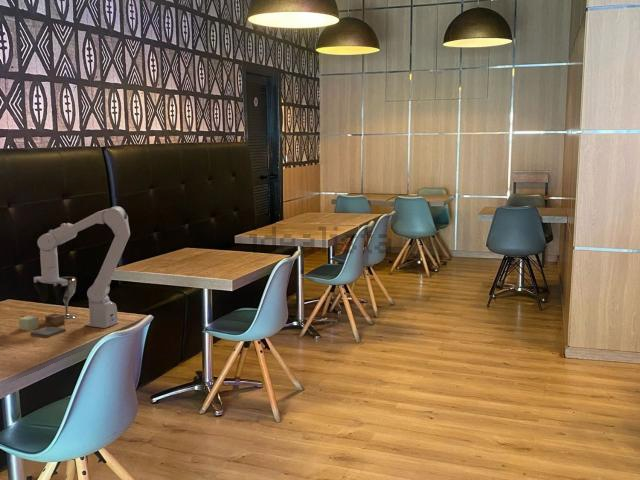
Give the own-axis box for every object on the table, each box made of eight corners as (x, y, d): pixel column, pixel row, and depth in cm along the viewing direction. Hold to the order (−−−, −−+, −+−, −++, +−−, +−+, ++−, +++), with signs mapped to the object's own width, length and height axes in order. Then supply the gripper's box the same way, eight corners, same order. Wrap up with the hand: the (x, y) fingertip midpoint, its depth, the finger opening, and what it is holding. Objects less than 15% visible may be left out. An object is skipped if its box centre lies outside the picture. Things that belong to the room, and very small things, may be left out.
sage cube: (39, 327, 229) (38, 316, 228) (29, 330, 225) (28, 320, 224) (29, 326, 230) (29, 315, 230) (19, 329, 226) (19, 318, 226)
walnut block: (64, 325, 232) (64, 314, 231) (55, 328, 228) (54, 317, 227) (55, 323, 234) (54, 313, 233) (45, 327, 230) (45, 316, 229)
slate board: (65, 331, 224) (65, 328, 223) (47, 337, 216) (47, 334, 216) (48, 328, 227) (48, 326, 226) (30, 334, 219) (30, 332, 219)
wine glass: (51, 319, 240) (48, 280, 237) (64, 313, 247) (61, 276, 245) (70, 320, 238) (67, 281, 236) (82, 314, 246) (80, 277, 243)
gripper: (25, 266, 227) (28, 303, 229) (55, 270, 221) (58, 307, 223) (41, 263, 233) (44, 299, 235) (71, 266, 227) (73, 303, 229)
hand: (51, 303), depth 229 cm, fingers open, 7 cm apart
